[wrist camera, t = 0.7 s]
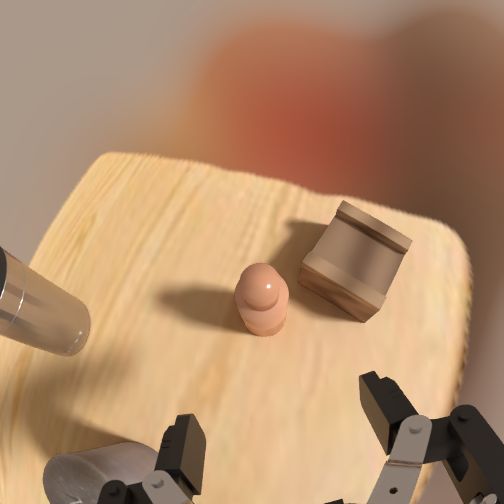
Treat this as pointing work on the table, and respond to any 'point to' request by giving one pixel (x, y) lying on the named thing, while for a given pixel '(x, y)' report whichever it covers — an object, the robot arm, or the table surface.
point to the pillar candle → (95, 471)
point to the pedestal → (354, 262)
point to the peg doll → (262, 299)
